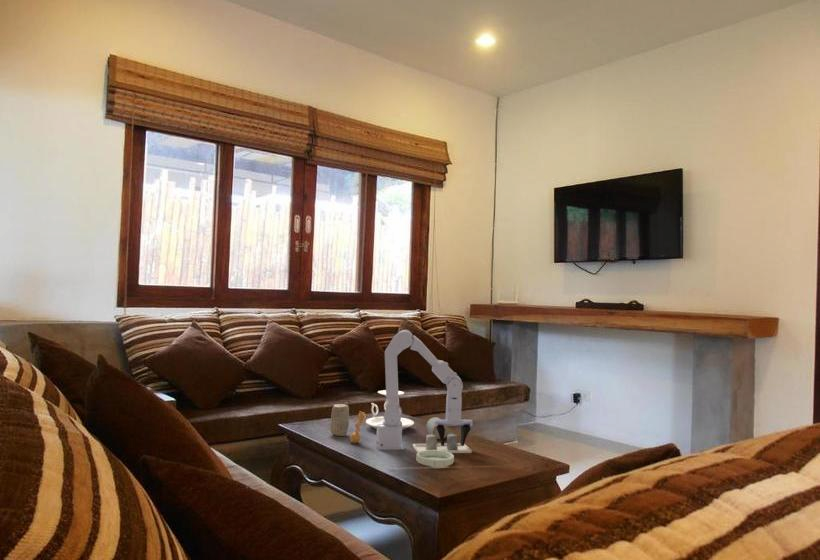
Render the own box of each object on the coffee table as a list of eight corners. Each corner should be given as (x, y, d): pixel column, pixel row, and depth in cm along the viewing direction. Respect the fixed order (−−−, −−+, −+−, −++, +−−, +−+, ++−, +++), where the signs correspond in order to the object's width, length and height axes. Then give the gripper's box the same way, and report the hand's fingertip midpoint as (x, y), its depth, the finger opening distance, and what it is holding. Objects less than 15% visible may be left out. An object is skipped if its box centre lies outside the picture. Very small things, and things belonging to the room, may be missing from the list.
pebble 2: (448, 450, 210) (448, 437, 211) (445, 447, 214) (446, 434, 214) (458, 450, 211) (459, 437, 211) (455, 447, 215) (456, 434, 215)
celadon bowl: (420, 468, 190) (421, 460, 190) (413, 457, 202) (413, 450, 202) (457, 467, 192) (457, 459, 192) (447, 456, 204) (448, 449, 205)
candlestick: (389, 419, 260) (392, 358, 261) (423, 431, 241) (426, 365, 241) (350, 424, 248) (353, 360, 249) (383, 437, 228) (386, 367, 229)
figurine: (345, 441, 221) (346, 409, 221) (358, 439, 224) (360, 408, 224) (355, 446, 214) (357, 414, 214) (369, 444, 217) (371, 412, 218)
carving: (350, 436, 228) (352, 406, 229) (332, 437, 225) (333, 407, 225) (345, 432, 234) (347, 403, 234) (328, 433, 231) (329, 403, 231)
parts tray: (418, 455, 205) (418, 451, 205) (412, 447, 215) (412, 443, 215) (471, 454, 209) (471, 450, 209) (463, 446, 219) (463, 443, 219)
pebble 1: (427, 451, 209) (427, 437, 209) (424, 448, 213) (425, 434, 213) (437, 450, 210) (438, 437, 210) (435, 447, 214) (435, 434, 214)
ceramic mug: (432, 441, 226) (433, 421, 226) (425, 436, 233) (426, 417, 234) (457, 440, 229) (458, 421, 229) (449, 435, 237) (450, 416, 237)
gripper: (437, 410, 208) (436, 448, 207) (475, 410, 211) (474, 447, 210) (432, 406, 215) (431, 443, 214) (469, 406, 218) (468, 442, 217)
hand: (452, 445), depth 213 cm, fingers open, 7 cm apart
